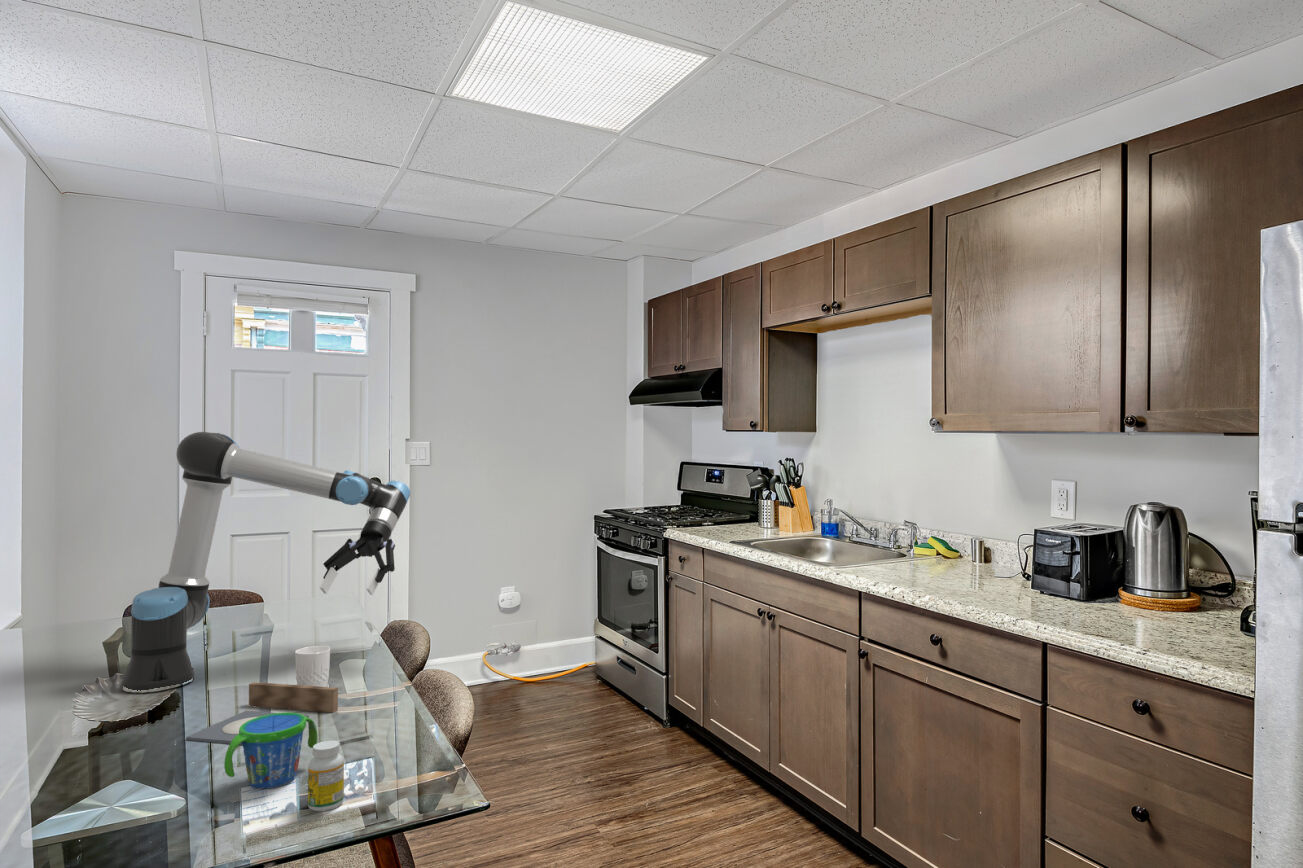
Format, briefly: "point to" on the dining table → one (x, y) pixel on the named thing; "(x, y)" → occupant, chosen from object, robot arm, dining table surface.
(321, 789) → the supplement bottle
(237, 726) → the slate mat
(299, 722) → the snack cup
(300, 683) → the white cup
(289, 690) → the low wall
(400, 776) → the dining table surface
